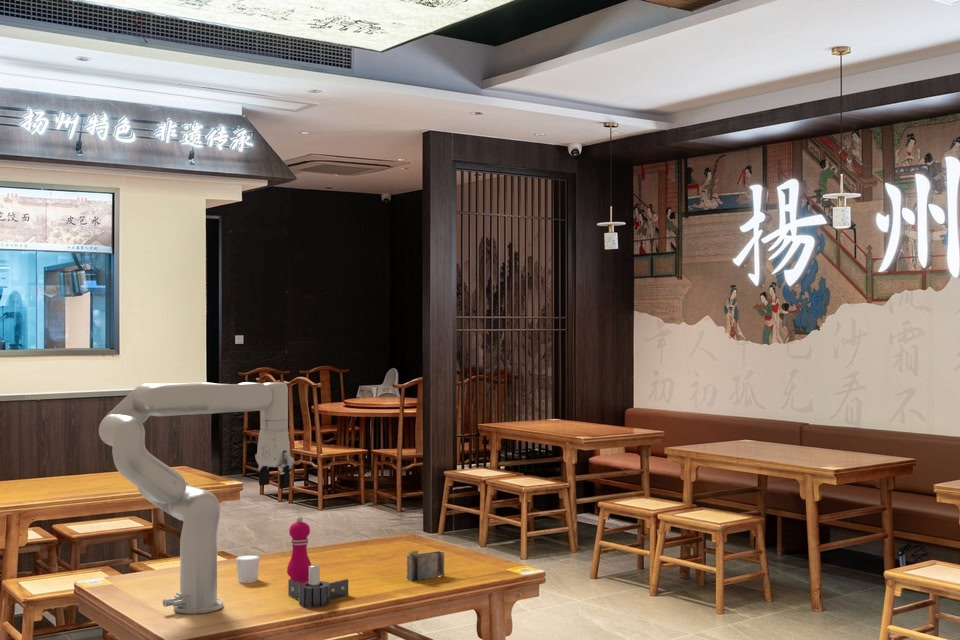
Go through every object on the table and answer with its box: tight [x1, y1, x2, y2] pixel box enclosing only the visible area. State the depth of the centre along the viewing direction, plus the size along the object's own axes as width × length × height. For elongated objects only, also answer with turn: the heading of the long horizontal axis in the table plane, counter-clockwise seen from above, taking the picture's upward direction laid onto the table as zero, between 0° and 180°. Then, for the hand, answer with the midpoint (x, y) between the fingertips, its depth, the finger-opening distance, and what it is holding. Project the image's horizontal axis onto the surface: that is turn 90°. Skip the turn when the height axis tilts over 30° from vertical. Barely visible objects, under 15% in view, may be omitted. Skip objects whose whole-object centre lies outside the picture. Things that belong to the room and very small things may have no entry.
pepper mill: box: [286, 516, 312, 583], centre depth 283 cm, size 7×7×20 cm
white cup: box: [235, 554, 261, 584], centre depth 289 cm, size 7×7×7 cm
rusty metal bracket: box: [406, 549, 445, 582], centre depth 291 cm, size 11×3×10 cm, turn 122°
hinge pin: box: [309, 564, 321, 587], centre depth 264 cm, size 3×3×10 cm
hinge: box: [287, 578, 349, 608], centre depth 269 cm, size 16×16×5 cm
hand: (274, 486), depth 274 cm, fingers open, 9 cm apart
